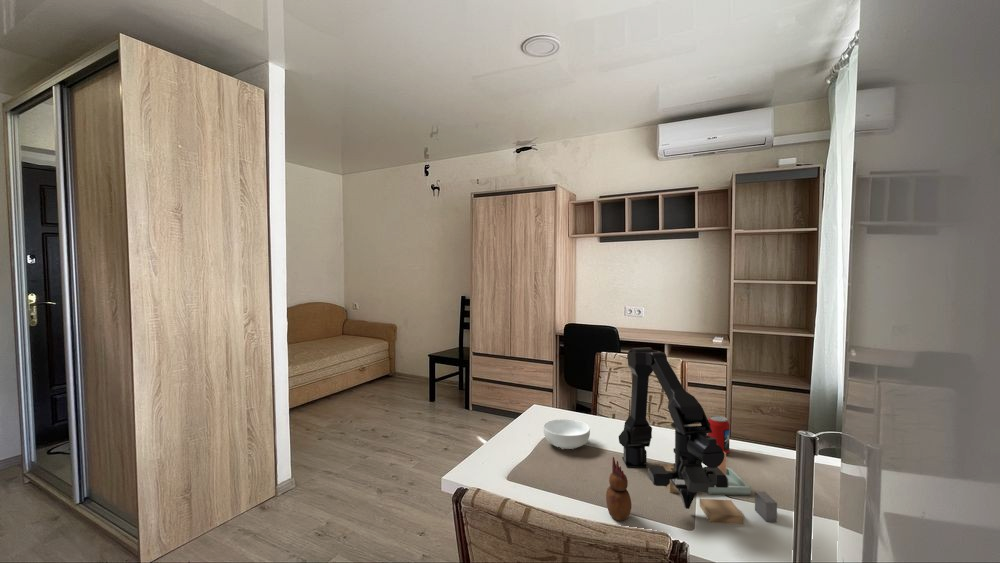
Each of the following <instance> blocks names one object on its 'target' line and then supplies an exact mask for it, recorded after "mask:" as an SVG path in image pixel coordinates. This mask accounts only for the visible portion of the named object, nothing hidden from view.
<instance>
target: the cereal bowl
mask: <svg viewBox="0 0 1000 563" xmlns="http://www.w3.org/2000/svg"><path fill="white" fill-rule="evenodd" d="M542 428H543V434H544V438H545V439H546V440H547V443H550V444H551V445H552V446H555V447H557V448H558V447H560V448H563V449H562V450H564V449H572V450H575V449H577V448H580V447H583V446H584V445H585V444H586V443H587V442H588V441H589V438H590V435H591V428H590V425H588V424H587V423H585V422H583V421H580V420H577V419H576V420H575V419H572V418H571V419H570V418H557V419H551V420H548V421H547V422H545V423H544V424H543V427H542ZM560 448H559V449H560ZM574 448H575V449H574Z"/></svg>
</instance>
